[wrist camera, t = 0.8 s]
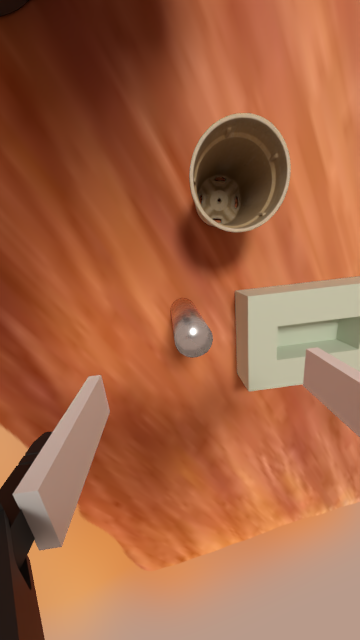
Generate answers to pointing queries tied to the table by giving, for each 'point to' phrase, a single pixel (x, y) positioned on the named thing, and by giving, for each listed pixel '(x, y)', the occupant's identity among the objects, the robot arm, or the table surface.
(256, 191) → the flower pot
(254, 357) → the slot block
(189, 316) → the pin
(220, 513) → the table surface
